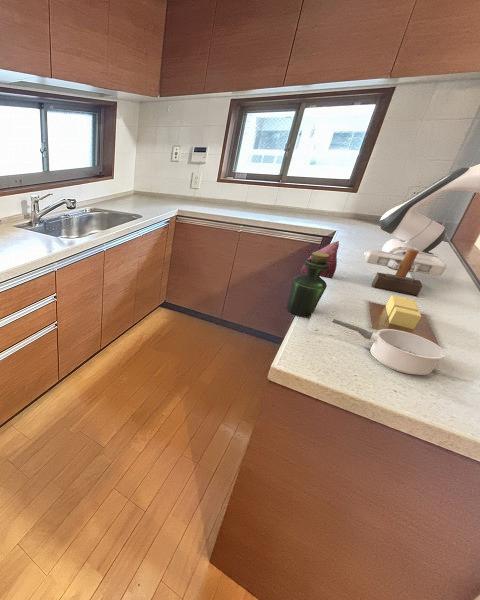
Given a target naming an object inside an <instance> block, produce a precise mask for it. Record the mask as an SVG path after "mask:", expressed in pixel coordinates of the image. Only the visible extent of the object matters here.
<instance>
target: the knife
mask: <svg viewBox="0 0 480 600" xmlns="http://www.w3.org/2000/svg"><path fill="white" fill-rule="evenodd" d="M418 252H419V251H418V250H415V249H408V251H407V253H406V255H405V257H404V259H403V261H402V263H401V266H400V267H399V270H396V273H395V274H393V273H385V274H386V276H385V277H390V278H395V279H400V280H405V281H411V282H413V281H414V279H415V278H414V277H409V276H408V277H407V275H408V273H409V270H410V268H411V266H412V264H413V262H414V260H415V258H416V256H417V254H418Z"/></svg>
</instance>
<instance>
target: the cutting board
mask: <svg viewBox="0 0 480 600" xmlns="http://www.w3.org/2000/svg"><path fill="white" fill-rule="evenodd" d="M368 309H369V316H370V325H371V329H373V330H377V331H379V330H382V329H393V330H399V331H404V332H408V333H411V334H414V335H417V336H420V337H423V338H425V339H427V340H429V341H431V342H433V343H435V344H437V345H438V346H439V347H440V344H439V342H438V340H437V337H436V335H435V333H434V331H433V329H432V326H431V323H430V322H429V318H428V317H427V315H426V314H425V313H420V314H421V318H420V320H419V322H418V323H417V325H416V327H415V328H414V329H410V328H406V327H402V326H398V325H394V324H390V323H389V317H388V315H387V310H386V305H384V304H382V303H381V304H380V303H376V302H372V301H368Z"/></svg>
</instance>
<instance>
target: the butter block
mask: <svg viewBox="0 0 480 600" xmlns="http://www.w3.org/2000/svg"><path fill="white" fill-rule="evenodd" d="M385 306H386V310H387V315H388V317H390V315H391V313H392V311H393V310H394V308H395V307H399V308H403V309H408V310H412V311H416V312H419V307H418V304H417V303H416V301H415V299H414V298H408V297H404V296H400V295H395V294H391V295H390V297H389V299H388V301H387V303H386V305H385Z"/></svg>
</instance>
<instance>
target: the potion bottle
mask: <svg viewBox="0 0 480 600" xmlns="http://www.w3.org/2000/svg"><path fill="white" fill-rule="evenodd" d="M311 255H312V259H308V258H307V259H306V260H305V261H304V262H303V265H305V266H307V274H303V273H302V274H299V275H296V276H295V277H293V279H292V282H291V287H290V290H289V295H288V299H287V302H286V303H287V304H286V308H285V309H286V311H287V312H288V313H289V314H291V315H293V316H296V317H299V318H309V317H311V316H312V315H313V313H314V312H315V310H316V308H317V306H318V304H319V302H320V300H321V298H322V296H323V295H324V293H325V292H326V289H327V287H328V285H327V282H326V281H325V280H324V279H323V278H322V277H321V276H320V277H319V275H320V274H321V272H322V271H323V270H327V269H329V264H328V263H327V262H325V261H326V259H327V258H328V257H329V255H328V254H325V253H321V252H316V251H313V252H312V253H311Z"/></svg>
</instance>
